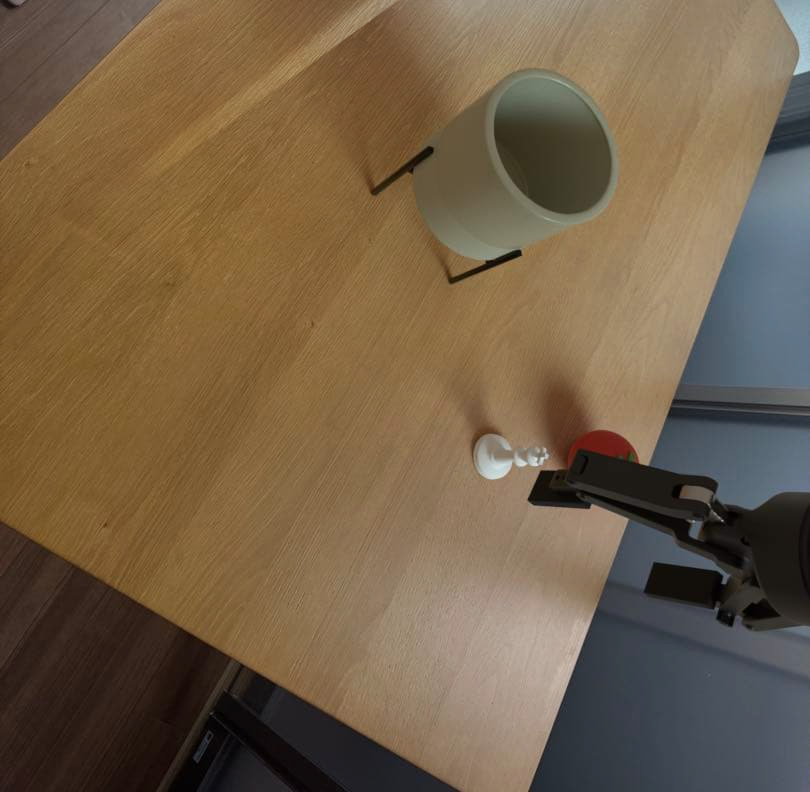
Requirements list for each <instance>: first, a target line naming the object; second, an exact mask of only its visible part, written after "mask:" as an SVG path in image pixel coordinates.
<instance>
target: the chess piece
mask: <svg viewBox="0 0 810 792" xmlns="http://www.w3.org/2000/svg"><path fill="white" fill-rule="evenodd" d="M547 450H548V448H546V447H544V446H542V447H540V448H539V446H536V445H531V446H529V447H526V446H523V445H517V446H515V447H514V449H512V446H511V445H510V443H509V442H508V440H507V439H506V438H505V437H503V436H502V435H500V434H496V433H487V434H486V433H485V434H484V435H482V436H480V438H479V439H478V440H477V441H476V442H475V445H474V448H473V452H472V453H473V454H472V458H473V465H474V466H475V469H476V471H477V472H478V473H479V474H480V475H481V477H483V478H485V479H487V480H497V479H501V478H503V477H505V476H506V475H508V473H509V472H510V470H511V468H512V467H513V466H512V465H513V463H514V465H516V466H517V467H520V468H522V467H525V466H527V465H529V466H531V467H538V466H543V464H544V460H548V459H549V457H550V454H548V453H547Z"/></svg>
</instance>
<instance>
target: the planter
mask: <svg viewBox="0 0 810 792" xmlns="http://www.w3.org/2000/svg"><path fill="white" fill-rule="evenodd" d="M617 147H618V146H617V143H616V139H615V136H614V133H613V130H612V127H611V125H610V124H609V121H608V120H607V118H606V116H605V114H604V112H603V110H601V108H600V106H599V105H598V104H597V102H596V101H595V100H594V99H593V97H591V95H590V94H588V92H587V91H586V90H584V88H583V87H581V86H580V85H579V84H578V83H576V82H575V81H574V80H572V79H571V78H569V77H567V76H565V75H563V74H561V73H559V72H557V71H553V70H551V69H546V68H541V67H527V68H522V69H521V68H520V69H518V70H515V71H513V72H511V73H509V74H507V75H505V76H504V77H503V78H502V79H501V80H500V81H498V82H497V83H496V84H494V85H492V87H491V88H489V89H488V90H487V91H486V92H484V93H483V94H482V95H480V96H479V97H478V98H477V99H476V100H474V101H473V102H472V103H470V104H469V105H468V106H467V107H465V108H464V109H463V110H462V111H460V112H459V113H458V114H457V115H456V116H454V117H453V118H452V119H450V120H449V121H448V122H447V123H445V124H444V125H442V127H441V128H439V129H438V130H437V131H435V132H434V133H433V134H431V136H430V137H428V138H427V139H426V141H424V143H423V144H422V146H421V147H420V148H419V151H418V153H417V154H416V155H414V156H413V157H412V158H410V159H409V160H408V161H406V163H404V164H403V165H402V166H401V167H399V168H398V169H396V170H395V171H394V172H393V173H391V174H390V175H389V176H388V177H386V178H385V179H384V180H382V181H381V182H379V184H377V185H376V186H375V187H373V188H371V193H370V194H371V195H372V196H375V197H377V196H378V195H379V194H381V193H382V192H383V191H384V190H386V189H387V188H389V187H390V186H391V185H392V184H394V183H395V182H396V181H398V180H399V179H400V178H401V177H403V176H404V175H405V174H407V173H408V174H410V175H412V190H413V195H414V199H415V203H416V207H417V209H418V212H419V214H420V216H421V218H422V220H423V222H424V223H425V225H426V227H427V228H428V229H429V231H430V232H431V233H432V234H433V235H434V237H436V239H437V240H439V242H441V244H443V246H445V247H447V248H448V249H449V250H451V251H452V252H454V253H456V254H458V255H460V256H462V257H465V258H467V259H472V260H478V261H484V262H485V263H484V264H481V265H478V266H477V267H474V268H471V269H470V270H467V271H465V272H463V273H460V274H458V275H455V276H453V277H451V278H449V279H448V281H449V284H450V285H455V284H457V283H461V282H463V281H465V280H467V279H469V278H472V277H475V276H477V275H480V274H481V273H484V272H486V271H489V270H492V269H494V268H496V267H499V266H500V265H501V266H502V265H503V264H505V263H509V262H510V261H514V260H515V259H518V258H520V257H523V252H522V250H523V249H525V248H528V247H530V246H533V245H534V244H537V243H540V242H542V241H544V240H547V239H548V238H551V237H553V236H556V235H558V234H561V233H562V232H565V231H567V230H570V229H572V228H575V227H576V226H580V225H582V224H585V223H586V222H589V221H591V220H593V219H594V218H596V217H598V215H600V214H601V213H602V212H604V211H605V209H606V208H607V206H608V205H609V204H610V202H611V200H612V198H613V196H614V194H615V192H616V189H617V185H618V181H619V180H618V179H619V172H620V171H619V169H620V164H619V163H620V162H619V161H620V159H619V153H618V148H617Z"/></svg>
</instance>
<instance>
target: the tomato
mask: <svg viewBox="0 0 810 792" xmlns="http://www.w3.org/2000/svg"><path fill="white" fill-rule="evenodd" d="M579 448H580V449H585V450H589V451H593V452H597V453H600V454H604V455H608V456H612V457H616V458H620V459H624V460H628V461H631V462H635V463H639V464H641V462H640V459H639V456H638V453H637V450H635V448H634V445H632V444H631V443H630V441H628V440H627V438H625V437H624V436H622V435H621V434H619V433H617V432H615V431H612V430H606V429H596V430H591V431H588V432H585V433H584V434H582V435H581V436H580V437H578V438H577V439H576V440H575V441H574V443H573V444H572V446H571V447H570V450H569V453H568V456H567V469H569V467H570V465H571V463H572V460H573V458H574V456H575V453H576V451H577V449H579Z"/></svg>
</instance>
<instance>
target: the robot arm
mask: <svg viewBox="0 0 810 792" xmlns="http://www.w3.org/2000/svg"><path fill="white" fill-rule="evenodd" d="M639 463H640V462H639ZM639 463H635V462H631V461H628V460H624V459H620V458H616V457H612V456H608V455H604V454H600V453H597V452H593V451H589V450H585V449H580V448H579V449H577V451H576V453H575V456H574V458H573V460H572V463H571V465H570V467H569V469H568V468H558V469H550V470H549V469H540V470H539V473H538V474H537V477H536V479H535V481H534V484H533V486H532V488H531V491H530V493H529V495H528V497H527V498H526V499H527V500H526V501H527V502H528V503H529V504H531V505H532V506H534V507H547V508H549V507H550V508H561V509H562V508H563V509H565V508H566V509H577V510H579V509H580V510H591V507H592V505H594V506H596V507H598V508H601V509H604V510H606V511H609V512H611V513H614V514H616V515H618V516H621V517H624V518H626V519H628V520H631V521H633V522H636V523H638V524H640V525H643V526H646V527H648V528H651V529H652V530H655V531H657V532H660V533H663V534H666V535H668V536H670V537H672V538H673V539H674V543H675V545H676V546H677V547H679V548H680V549H683V550H686V551H688V552H690V553H691V554H692V553H693V554H695V555H698V556H699V557H702V558H705V559H707V560H710V561H712V562H713V563H714V565H715V566H716V567H718V568H719V569H720V570H722V571H723V572H725V574H727V575H729V576H728V577H727V579H726V582H725V583H723V580H724V575H723V574H722V573H721V572H720V571H718V570H716V569H715V570H714V569H707V568H700V567H694V566H686V565H679V564H672V563H664V562H659V561H658V562H657V561H653V562H652V565H651V569H650V572H649V574H648V577H647V580H646V582H645V583H646V584H645V585H644V589H643V594H644V595H646V596H647V597H648V598H651V599H656V600H661V601H666V602H670V603H671V602H672V603H677V604H682V605H687V606H691V607H697V608H703V609H707V610H711V611H714V610H715V609H716V608H717V609H718V610H717V613H716V617H715V621H716V622H717V623H718V624H720V625H722V626H724V627H727V628H734V624H735V621H736V617H737V616H738V617H740V618H741V623H740V624H741V626H743V627H744V628H745V629H746V630H748V631H750V632H755V633H758V632H767V631H773V630H781V629H788V628H796V627H797V628H798V627H804V626H805V627H809V628H810V492H809V491H783V492H780V493H777V494H775V495H773V496H771V497H770V498H769V499H768V500H766V501H765V502H763V503H762V504H761V505H759V506H757V507H756V508H753V509H750V508H745V507H743V506H740V505H737V504H729V503H722V501H720V500H719V498H718V497H717V496H716V495H717V492H718V488H719V483H718V481H716V480H715V479H713V478H711V477H710V476H706V475H698V474H697V475H696V474H685V473H677V472H674V471H669V470H666V469H663V468H659V467H655V466H650V465H647V464H642V463H640V464H639ZM697 522H701V525H700V528H699V531H698V533H697V539H696V538H694V537H693V536H691V535H690V534H691V530H692V527H693V525H695V524H696V523H697Z"/></svg>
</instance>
